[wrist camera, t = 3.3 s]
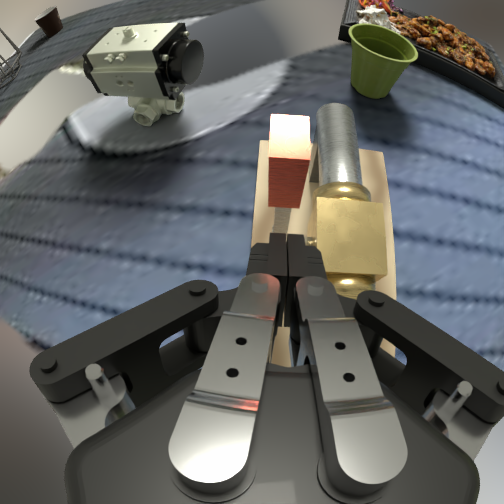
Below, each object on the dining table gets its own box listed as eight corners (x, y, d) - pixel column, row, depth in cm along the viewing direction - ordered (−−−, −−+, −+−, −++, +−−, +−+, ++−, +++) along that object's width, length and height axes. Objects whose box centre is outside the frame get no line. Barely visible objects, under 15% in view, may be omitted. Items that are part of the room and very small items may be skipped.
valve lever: (287, 233, 29) (308, 113, 13) (286, 263, 28) (310, 163, 12) (269, 232, 29) (271, 111, 13) (267, 262, 28) (268, 160, 12)
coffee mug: (61, 32, 63) (51, 12, 54) (42, 42, 63) (31, 23, 53) (70, 18, 67) (61, -1, 57) (51, 28, 66) (42, 10, 57)
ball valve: (106, 124, 46) (62, 54, 29) (129, 92, 48) (96, 21, 31) (193, 137, 43) (164, 45, 26) (214, 100, 46) (197, 12, 29)
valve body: (345, 158, 39) (366, 100, 28) (348, 355, 32) (386, 359, 21) (288, 153, 40) (294, 92, 29) (278, 353, 32) (285, 358, 21)
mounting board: (379, 158, 41) (382, 152, 40) (388, 370, 32) (393, 371, 31) (260, 146, 42) (260, 140, 41) (242, 367, 33) (241, 368, 32)
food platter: (337, 39, 52) (344, 3, 42) (346, 3, 58) (351, -25, 49) (506, 112, 46) (525, 86, 36) (486, 60, 53) (499, 38, 43)
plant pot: (407, 111, 44) (429, 67, 33) (347, 106, 44) (361, 55, 34) (387, 70, 48) (402, 28, 37) (332, 65, 48) (340, 19, 37)
